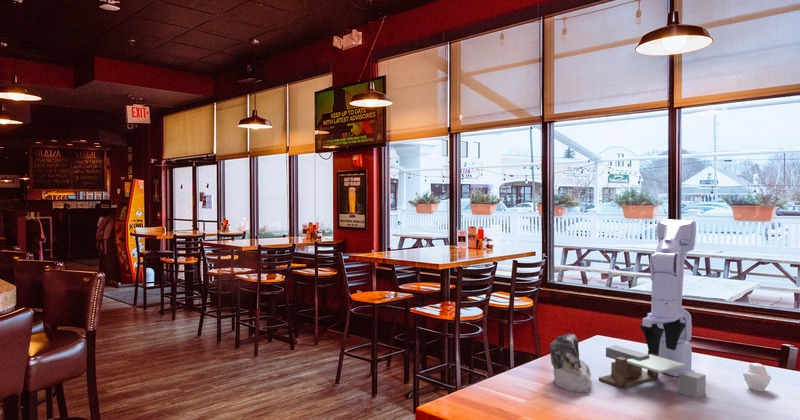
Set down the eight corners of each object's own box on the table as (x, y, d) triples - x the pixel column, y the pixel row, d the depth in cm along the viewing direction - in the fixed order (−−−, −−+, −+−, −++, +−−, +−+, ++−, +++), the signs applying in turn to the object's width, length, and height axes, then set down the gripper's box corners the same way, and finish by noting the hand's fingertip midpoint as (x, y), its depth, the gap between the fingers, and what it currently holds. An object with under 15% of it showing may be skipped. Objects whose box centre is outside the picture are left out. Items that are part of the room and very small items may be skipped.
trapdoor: (623, 352, 154) (623, 343, 154) (685, 371, 139) (685, 361, 139) (598, 358, 149) (598, 349, 149) (659, 378, 133) (660, 367, 133)
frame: (635, 370, 154) (636, 345, 154) (658, 378, 148) (658, 351, 148) (598, 380, 145) (599, 353, 145) (621, 388, 140) (622, 359, 139)
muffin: (746, 383, 145) (746, 357, 145) (773, 389, 140) (773, 363, 140) (739, 389, 140) (740, 362, 140) (767, 395, 136) (768, 368, 136)
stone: (603, 399, 136) (583, 350, 133) (566, 411, 138) (545, 364, 135) (590, 368, 149) (570, 323, 146) (556, 380, 151) (536, 336, 148)
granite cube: (687, 389, 140) (687, 370, 140) (705, 394, 136) (705, 375, 136) (678, 392, 137) (679, 373, 137) (696, 398, 134) (697, 378, 134)
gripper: (665, 294, 145) (664, 343, 146) (632, 298, 138) (631, 351, 138) (691, 298, 139) (689, 350, 139) (657, 303, 132) (656, 358, 132)
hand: (662, 351), depth 138 cm, fingers open, 7 cm apart
